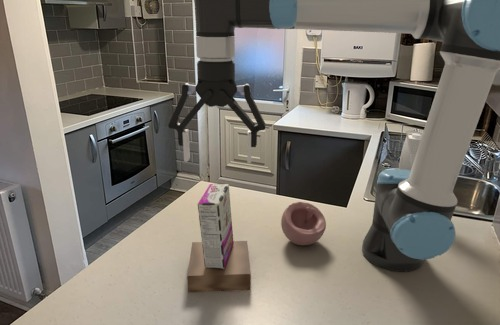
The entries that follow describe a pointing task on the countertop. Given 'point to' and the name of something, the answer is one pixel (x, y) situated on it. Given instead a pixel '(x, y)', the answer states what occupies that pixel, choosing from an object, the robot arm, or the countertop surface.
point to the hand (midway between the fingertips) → (218, 160)
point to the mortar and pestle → (303, 223)
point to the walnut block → (220, 270)
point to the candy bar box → (216, 225)
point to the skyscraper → (409, 150)
